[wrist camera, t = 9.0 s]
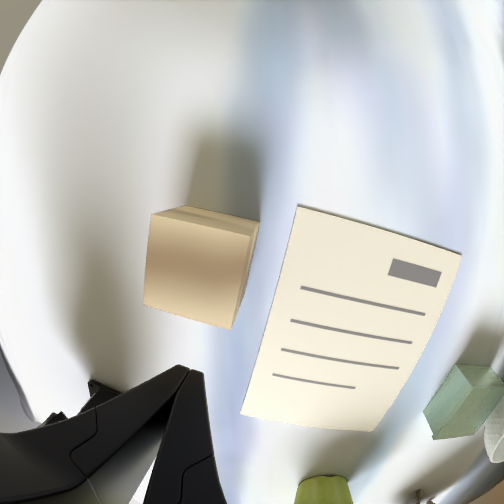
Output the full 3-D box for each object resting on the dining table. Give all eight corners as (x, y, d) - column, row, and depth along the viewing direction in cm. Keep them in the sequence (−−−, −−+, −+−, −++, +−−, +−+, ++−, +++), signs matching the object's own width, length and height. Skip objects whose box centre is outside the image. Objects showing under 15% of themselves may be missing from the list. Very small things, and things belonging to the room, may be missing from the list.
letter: (372, 430, 21) (372, 431, 21) (240, 413, 22) (239, 414, 21) (461, 255, 16) (462, 256, 16) (297, 206, 17) (297, 206, 17)
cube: (244, 293, 19) (230, 330, 14) (175, 275, 19) (143, 304, 14) (260, 221, 18) (250, 236, 13) (185, 205, 18) (151, 214, 13)
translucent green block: (460, 410, 20) (473, 434, 16) (420, 411, 20) (433, 439, 16) (490, 364, 18) (509, 386, 14) (453, 361, 18) (473, 387, 14)
